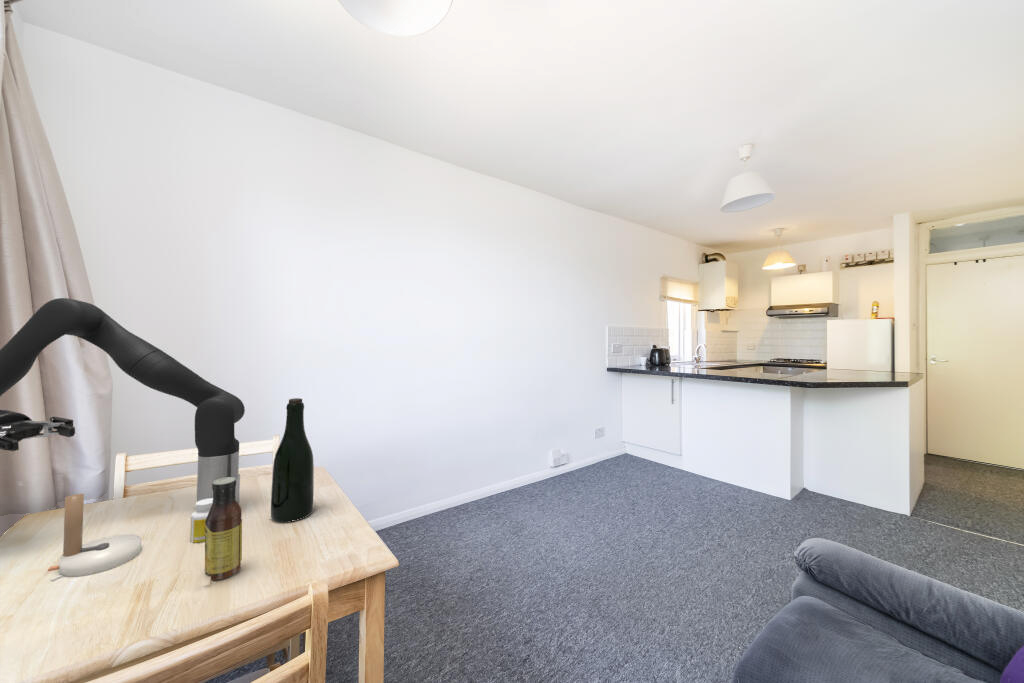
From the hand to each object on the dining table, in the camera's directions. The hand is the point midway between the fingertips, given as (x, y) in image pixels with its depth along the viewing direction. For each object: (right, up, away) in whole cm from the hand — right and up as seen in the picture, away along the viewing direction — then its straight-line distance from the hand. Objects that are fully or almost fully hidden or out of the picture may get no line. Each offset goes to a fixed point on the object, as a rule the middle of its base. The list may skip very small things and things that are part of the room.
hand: (45, 438), depth 82 cm
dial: (+13, -26, 0) cm, 29 cm away
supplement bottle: (+27, -28, +10) cm, 40 cm away
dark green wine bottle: (+39, -28, +25) cm, 54 cm away
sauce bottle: (+40, -28, -2) cm, 49 cm away
